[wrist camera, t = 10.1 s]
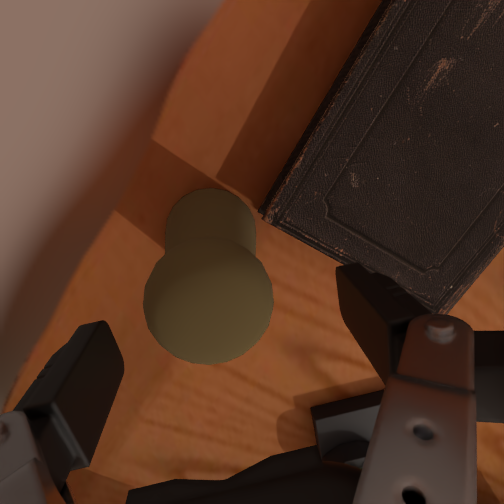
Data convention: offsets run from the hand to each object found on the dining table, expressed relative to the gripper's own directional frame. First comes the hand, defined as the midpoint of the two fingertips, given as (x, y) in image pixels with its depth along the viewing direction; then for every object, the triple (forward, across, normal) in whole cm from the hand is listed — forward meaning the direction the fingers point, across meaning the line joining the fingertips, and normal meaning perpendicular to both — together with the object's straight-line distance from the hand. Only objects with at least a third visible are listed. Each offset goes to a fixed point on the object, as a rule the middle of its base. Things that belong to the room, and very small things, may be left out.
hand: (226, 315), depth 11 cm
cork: (+12, +1, 0) cm, 12 cm away
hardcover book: (+12, -16, -4) cm, 20 cm away
